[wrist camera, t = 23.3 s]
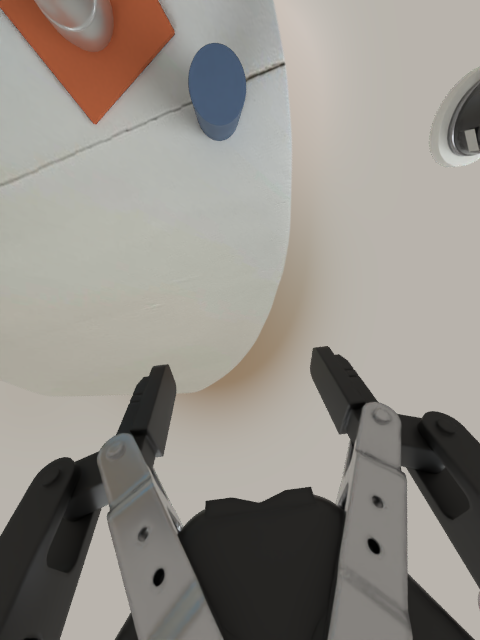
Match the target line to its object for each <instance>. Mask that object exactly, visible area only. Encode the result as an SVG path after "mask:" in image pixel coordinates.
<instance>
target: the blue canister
mask: <svg viewBox="0 0 480 640" xmlns="http://www.w3.org/2000/svg"><path fill="white" fill-rule="evenodd" d="M188 84H189V92H190V97H191V100H192V103H193V106H194V109H195V112H196V115H197V119H198V122H199V124H200V127H201V129H202V130H203V132H204V133H205V134H206V135H207V136H208V137H210V138H211V139H213V140H217V141H222V140H226V139H227V138H229V137H230V136H231V135H232V134H233V133H234V131H235V130H236V127H237V125H238V121H239V118H240V115H241V111H242V108H243V105H244V101H245V96H246V79H245V74H244V70H243V67H242V65H241V63H240V61H239V59H238V57H237V56H236V54H235V53H234V52H233V51H232V50H231V49H230V48H228V47H227V46H225V45H223V44H219V43H211V44H208V45H205V46H204V47H202V48H201V49H200V50H199V51H198V52H197V53H196V55H195V57H194V58H193V61H192V63H191V66H190V70H189V78H188Z"/></svg>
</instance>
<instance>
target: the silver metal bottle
mask: <svg viewBox="0 0 480 640" xmlns="http://www.w3.org/2000/svg"><path fill="white" fill-rule="evenodd" d="M34 1H35V2H36V3H37V5H38V6H39V8H40V9H41V11H42V12H43V14H44V15H45V16H46V18H47V19H48V20H49V21H50V23H51V24H52V25H53V26H54V28H55V29H56V30H57V31H58V32H59V33H60V34H61V35H62V36H63V37H64V38H65V39H66V40H68V41H69V42H71V43H72V44H74V45H76V46H77V47H79V48H81V49H83V50H86V51H89V52H98V51H101V50H103V49H104V48H105V47H106V46H107V45H108V44H109V42H110V40H111V37H112V34H113V27H114V23H113V12H112V7H111V3H110V0H34Z"/></svg>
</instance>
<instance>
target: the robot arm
mask: <svg viewBox="0 0 480 640" xmlns="http://www.w3.org/2000/svg"><path fill="white" fill-rule="evenodd" d="M447 140H448V146H449V148H450V150H451V151H452V152H453V153H454V154H455V155H457V156H462V157H464V156H472V155H476V154H480V80H479V81H478V82H476V83H475V84H474V85H473V86H472V87H471V88H470V89H469V90H468V91H467V92H466V94H465V95H464V96H463V98H462V99H461V100H460V102H459V103H458V105H457V107H456V109H455V111H454V113H453V115H452V117H451V120H450V123H449V127H448V134H447ZM310 372H311V376H312V379H313V381H314V383H315V385H316V387H317V389H318V391H319V393H320V395H321V398H322V400H323V402H324V404H325V406H326V408H327V410H328V412H329V414H330V416H331V418H332V420H333V422H334V424H335V426H336V429H337V431H338V433H339V434H346V433H347V434H348V436H349V438H350V442H349V447H348V452H347V457H346V462H345V467H344V472H343V477H342V481H341V485H340V488H339V492H338V496H337V500H336V504H334V503H333V502H331V501H329V500H327V499H325V498H323V497H320V496H317V495H313V492H312V489H311V487H306V488H299V489H291V490H285V491H283V492H281V493H279V494H277V495H275V496H273V497H271V498H269V499H267V500H265V501H263V502H260V503H257V502H252V501H246V500H242V499H237V498H225V499H217V500H210V501H206V507H205V510H203V511H201V512H199V513H198V514H196V515H195V516H194V517H193V518H192V519H190V521H188V522H187V524H186V525H185V526H184V527H183V525H182V523H181V521H180V519H179V517H178V515H177V513H176V511H175V510H174V508H173V506H172V504H171V502H170V500H169V498H168V497H167V494H166V492H165V490H164V488H163V486H162V484H161V482H160V480H159V478H158V476H157V474H156V472H155V470H154V468H153V464H154V460H155V457H161V456H163V454H164V450H165V445H166V440H167V435H168V430H169V425H170V420H171V416H172V411H173V406H174V401H175V396H176V383H175V380H174V378H173V375H172V372H171V369H170V367H169V365H168V364H167V365H158V366H153V367H152V370H151V372H150V375H149V376H148V377H143V379H142V380H141V381H140V382H139V383H138V384H137V386H136V388H135V391H134V393H133V396H132V398H131V400H130V404H129V405H128V408H127V410H126V413H125V415H124V417H123V420H122V422H121V425H120V427H119V430H118V432H117V434H116V436H114V437H112V438H111V439H109V440H108V441H107V442H106V443H105V444H104V445H103V446H102V448H101V449H100V451H99V452H96V453H94V454H92V455H90V456H88V457H85V458H83V459H81V460H78V461H76V462H74V461H73V460H72V459H71V458H68V457H63V458H59V459H57V460H54V461H53V462H51V463H49V464H48V465H47V466H45V467H44V468H43V469H42V470H41V471H40V472H39V473H38V474H37V475H36V477H35V478H34V480H33V481H32V483H31V485H30V486H29V488H28V490H27V491H26V493H25V495H24V497H23V499H22V500H21V502H20V503H19V505H18V507H17V509H16V510H15V512H14V514H13V515H12V517H11V519H10V521H9V522H8V524H7V526H6V527H5V529H4V531H3V533H2V534H1V536H0V640H60V637H61V633H62V631H63V627H64V624H65V621H66V618H67V615H68V612H69V608H70V605H71V602H72V599H73V596H74V593H75V590H76V587H77V583H78V580H79V577H80V574H81V571H82V568H83V565H84V561H85V558H86V555H87V552H88V549H89V546H90V543H91V539H92V536H93V533H94V530H95V527H96V524H97V520H98V517H99V514H100V511H101V508H102V507H104V506H105V505H108V504H109V507H110V512H108V514H107V520H108V525H109V529H110V533H111V537H112V540H113V545H114V548H115V552H116V556H117V559H118V564H119V568H120V571H121V575H122V579H123V583H124V587H125V590H126V594H127V598H128V602H129V606H130V610H131V613H130V615H129V617H128V618H127V620H126V622H125V624H124V625H123V627H122V628H121V630H120V632H119V634H118V635H117V637H116V638H115V640H474V639H473V638H472V637H471V636H470V635H469V634H468V633H467V632H466V631H465V630H464V629H463V628H462V627H461V626H460V625H459V624H458V623H457V622H456V621H455V620H454V619H453V618H452V617H451V616H450V615H449V614H448V613H447V612H446V611H445V610H444V609H443V608H442V607H441V606H440V605H439V604H438V603H437V602H436V601H435V600H434V599H433V598H432V597H431V596H430V595H429V594H428V593H427V592H426V591H425V590H424V589H423V588H422V587H421V586H420V585H419V584H418V583H417V582H416V581H415V580H414V579H413V578H412V577H411V576H410V575H409V574H408V573H407V480H406V475H405V473H403V472H402V471H401V466H403V467H406V468H407V470H408V471H409V473H410V474H411V476H412V478H413V479H414V481H415V483H416V484H417V486H418V488H419V489H420V491H421V493H422V494H423V496H424V497H425V499H426V501H427V502H428V504H429V506H430V507H431V509H432V511H433V512H434V514H435V516H436V517H437V519H438V520H439V522H440V524H441V526H442V527H443V529H444V530H445V532H446V534H447V536H448V537H449V539H450V541H451V542H452V544H453V545H454V547H455V549H456V550H457V552H458V554H459V555H460V557H461V559H462V560H463V562H464V564H465V565H466V567H467V569H468V570H469V572H470V574H471V575H472V577H473V579H474V580H475V582H476V583H477V585H478V587H479V588H480V443H479V442H478V441H477V440H476V439H475V438H474V437H473V436H472V435H471V434H470V433H469V432H468V431H467V430H466V428H465V427H464V426H463V425H461V423H459V422H458V421H457V420H455V419H454V418H452V417H450V416H448V415H446V414H443V413H440V412H434V411H432V412H427V413H425V414H424V416H423V417H422V418H417V417H411V416H406V415H400V414H397V413H396V412H395V411H394V410H392V409H391V408H390V407H388V406H386V405H384V404H382V403H379V402H378V401H377V400H376V399H375V397H374V396H373V394H372V393H371V392H370V390H369V389H368V388H367V386H366V385H365V384H364V382H363V381H362V380H361V378H360V377H359V376H358V374H357V373H356V371H355V370H354V369H353V367H352V366H351V365H350V363H349V362H348V361H347V360H346V359H345V358H343V357H342V356H340V355H339V354H338V355H334V353H333V352H332V351H331V349H330V348H329V347H328V346H325V347H316V348H313V351H312V359H311V365H310ZM478 604H479V609H480V592H479V595H478Z"/></svg>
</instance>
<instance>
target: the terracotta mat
mask: <svg viewBox="0 0 480 640" xmlns="http://www.w3.org/2000/svg"><path fill="white" fill-rule="evenodd" d="M110 3H111V7H112V12H113V23H114V27H113V34H112V37H111V40H110V42H109V44H108V45H107V46H106V47H105V48H104V49H103V50H101V51H98V52H89V51H86V50H83V49H81V48H79V47H77V46H76V45H74V44H72V43H71V42H69V41H68V40H66V39H65V38H64V37H63V36H62V35H61V34H60V33H59V32H58V31H57V30H56V29H55V28H54V26H53V25H52V24H51V23H50V21H49V20H48V19H47V18H46V16H45V15H44V14H43V12H42V11H41V9H40V8H39V6H38V5H37V3H36V2H35V1H34V0H0V8H1V9H2V10H3V11H4V13H5V14H6V15H7V16H8V18H9V19H10V20H11V21H12V23H13V24H14V25H15V26H16V28H17V29H18V30H19V31H20V33H21V34H22V35H23V36H24V38H25V39H26V40H27V41H28V43H29V44H30V45H31V46H32V47H33V49H34V50H35V51H36V52H37V54H38V55H39V56H40V57H41V59H42V60H43V61H44V62H45V64H46V65H47V66H48V67H49V69H50V70H51V71H52V72H53V74H54V75H55V76H56V77H57V79H58V80H59V81H60V82H61V83H62V85H63V86H64V87H65V88H66V90H67V91H68V92H69V93H70V95H71V96H72V97H73V98H74V100H75V101H76V102H77V103H78V105H79V106H80V107H81V108H82V110H83V111H84V112H85V113H86V115H87V116H88V117H89V118H90V120H91V121H92V122H93V123H94V124H97V123H98V121H99V120H100V119H101V118H102V117H103V116H104V115H105V113H106V112H107V111H108V110H109V109H110V108H111V107H112V105H113V104H114V103H115V102H116V101H117V100H118V99H119V97H120V96H121V95H122V94H123V93H124V92H125V91H126V89H127V88H128V87H129V86H130V85H131V84H132V83H133V81H134V80H135V79H136V78H137V77H138V76H139V74H140V73H141V72H142V71H143V70H144V69H145V68H146V66H147V65H148V64H149V63H150V62H151V61H152V60H153V58H154V57H155V56H156V55H157V54H158V53H159V52H160V50H161V49H162V48H163V47H164V46H165V45H166V44H167V42H168V41H169V40H170V39H171V38H172V37H173V36H174V34H175V32H174V30H173V28H172V26H171V24H170V22H169V20H168V18H167V17H166V15H165V13H164V11H163V9H162V7H161V5H160V4H159V2H158V0H110Z"/></svg>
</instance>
